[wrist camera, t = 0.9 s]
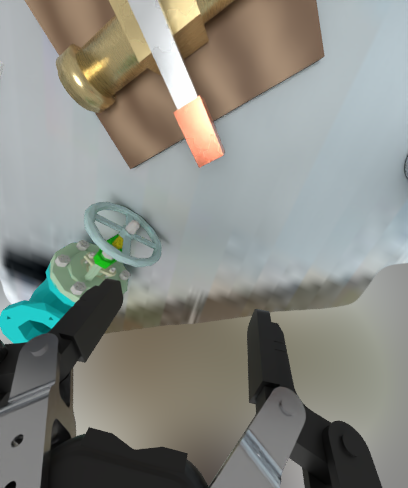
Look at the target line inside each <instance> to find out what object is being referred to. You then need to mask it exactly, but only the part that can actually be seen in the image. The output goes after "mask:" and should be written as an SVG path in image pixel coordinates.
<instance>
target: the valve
mask: <svg viewBox="0 0 408 488" xmlns="http://www.w3.org/2000/svg"><path fill="white" fill-rule="evenodd" d="M101 210H114V211H117V212H120V213H123V214H125V215H127V216H126V225H124V226H123V227H121V226H119V225H117V224H115V223H113V222H112V221H110V220H108V219H106V218H104V217H102V216H100V215H98V214H96V213H97V212H98V211H101ZM95 220H96V221H98V222H100V223H102V224H104V225H106V226H109V227H111V228H113V229H115V230H117V231H119V234H117V235H116V236H114V237H112V238H110V239H109V240H107V241H105V240H104V239H103V237H102V236H101V234H100V232H99V230H98V229H97V227H96V225H95V223H94V222H95ZM84 225H85V229H86V231H87V232H88V234H89V236H90V237H91V239H92V241H93V242H94V243H95V244H96V245H94V244H91V243H88V242H87V241H84V240H81V241H79V242H78V243H71V244H69V245H67V246H66V247H64V248H62V249H60V250H59V251H57V252H56V253H55V254H54V256H53V258H52V260H51V262H50V264H49V267H48V269H47V271H46V276H47V279H46V280H45V281H44V282H43V283H42V284H41V285H40V286H39V287H38V288H37V289H36V290H35V291H34V292H33V294H32V296H31V298H30V300H29V301H25V300H24V301H21V302H18V303H15V304H12V305H9V306H8V307H6V308H5V309H4V310H3V311H2V312H1V316H0V327H1V330H2V332H3V334H4V335H5V336H6V337H7V338H8V339H9V340H11V341H12V342H13V343H24V342H28V341H29V340H31V339H32V338H34V337H36V336H38V335H41V334H45V333H48V332H49V331H50V330H51V329H52V328H53V327H54V326H55V325H56V323H57V322H58V321H59V320H60V319H61V318H62V317H63V316H64V315H65V314H66V313H67V311H68V310H69V309H70V308H71V307H72V306H74V304H75V303H76V302H77V300H79V298H80V297H81V296H82V295H83V294H84V293H85V292H86V291H87V290H89V289H90V288H92V287H93V286H95V285H96V286H99V285H100V284H101V283H102V282H103V281H104V280H105V279H106V278H109V279H114V280H118V281H120V282H121V287H122V293H123V294H124V293H125V292H126V291H127V285H128V278H129V277H130V273H129V271H127V270H126V268H125V267H124V265H123V263H125V264H128V265H131V266H135V267H143V266H151V265H153V264H154V263H156V262H157V261H158V260H159V258H160V256H161V243H160V240H159V238H158V237H157V235H156V233H155V231H154V230H153V229H152V227H151V226H150V225H149V224H148V223H147V222H146V221H145V220H144V219H143V218H142V217H141V216H139V215H137V214H136V213H134V212H132V211H131V210H129V209H128V208H126V207H123V206H120V205H117V204H113V203H110V202H99V203H96V204H93V205H91V206H90V207H89V208H88V209H87V210H86V211H85V215H84ZM140 225H141V226H142V227H143V228H144V229H145V230H146V232H147V233H148V235H149V237H150V238H151V240H152V242H151V241H149V240H147V239H145V238H143V237H141V236H139V235H137V234H136V233H137V232H136V231H137V230H138V228H139V227H140ZM133 239H134V240H136V241H139V242H141V243H143V244H145V245H147V246H149V247H151V248H153V249H154V251H153V254H152V256H151V257H150V258H146V259H141V258H135V257H132V256H130V246H131V240H133Z"/></svg>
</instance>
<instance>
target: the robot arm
mask: <svg viewBox="0 0 408 488" xmlns="http://www.w3.org/2000/svg"><path fill="white" fill-rule="evenodd" d="M405 173H406V176H407V178H408V157H407V160H406V164H405ZM122 303H123V293H122V287H121V282H120V281H118V280H114V279H109V278H106V279H105V280H104V281H103V282H102V283H101V284H100V285H99V286H96V285H95V286H93V287H92V288H90V289H89V290H87V291H86V292H85V293H84V294H83V295H82V296H81V297H80V298H79V300H77V302H76V303H75V304H74V306H72V307H71V308H70V309H69V310H68V311H67V313H66V314H65V315H64V316H63V317H62V318H61V319H60V320H59V321H58V322H57V323H56V325H55V326H54V327H53V328H52V329H51V330H50V331H49V332H48V333H45V334H41V335H38V336H36V337H34V338H32V339H31V340H29V341H28V342H24V343H14V344H5V345H4V344H3V343H2V341H1V340H0V488H279V487H280V484H281V474H282V472H283V469H284V467H285V465H286V463H287V461H288V458H290V459H292V460H293V461H294V462H296V463H297V464H299V465H300V466H301V467H302V470H303V477H304V485H305V488H382V486H381V483H380V480H379V477H378V474H377V471H376V469H375V465H374V463H373V460H372V457H371V454H370V451H369V449H368V447H367V445H366V443H365V441H364V440H363V438H362V437H361V435H360V434H359V433H358V432H357V431H356V430H355V429H354V428H353V427H351V426H350V425H349V424H347V423H345V422H342V421H334V422H332V423H331V422H329V421H327V420H326V419H324V418H322V417H321V416H319V415H317V414H316V413H314V412H313V411H311V410H310V409H308V408H307V407H306V406H305V405H304V404H303V403H302V401H301V400H300V399H299V397H298V395H297V393H296V391H295V389H294V385H293V380H292V375H291V370H290V365H289V359H288V355H287V349H286V345H285V340H284V334H283V332H282V330H281V328H280V327H279V325H278V324H277V323H273V322H271V318H270V313H269V312H268V311H264V310H259V309H255V310H254V312H253V315H252V318H251V320H250V323H249V326H248V331H247V345H248V380H249V403H253V404H256V415H255V417H254V418H253V420H252V421H251V423H250V424H249V426H248V428H247V429H246V431H245V432H244V434H243V435H242V437H241V438H240V440H239V441H238V443H237V444H236V446H235V448H234V449H233V451H232V452H231V453H230V455H229V457H228V458H227V459H226V461H225V462H224V464H223V466H222V467H221V468H220V470H219V472H218V473H217V475H216V476H215V478H214V479H213V481H212V482H211V484H210V486H209V487H208V485H207V483H206V481H205V479H204V477H203V476H202V474H201V473H200V472H199V471H198V469H197V468H196V467H195V466H194V465H193V464H192V463H191V462H190V461H188V460H187V453H184V452H180V451H176V450H173V449H169V448H165V447H158V448H148V449H139V450H134V449H132V448H131V447H129V446H128V445H127V444H125V443H124V442H123V441H121V440H120V439H119V438H118V437H116V436H115V435H113V434H112V433H108V432H104V431H101V430H97V429H93V428H88V431H87V432H86V434H83V435H79V436H76V422H75V417H74V412H73V367H74V365H75V364H76V362H77V361H81V362H86V361H87V359H88V358H89V356H90V354H91V353H92V351H93V350H94V348H95V347H96V345H97V344H98V342H99V341H100V339H101V337H102V336H103V334H104V333H105V331H106V330H107V328H108V327H109V325H110V324H111V322H112V320H113V319H114V317H115V316H116V314H117V313H118V311H119V310H120V308H121V306H122Z"/></svg>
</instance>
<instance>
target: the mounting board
mask: <svg viewBox="0 0 408 488" xmlns="http://www.w3.org/2000/svg"><path fill="white" fill-rule="evenodd" d="M25 2H26V3H27V5H28V7H29V8H30V10H31V11H32V13H33V15H34V16H35V18H36V19H37V21H38V23H39V24H40V26H41V27H42V29H43V30H44V32H45V34H46V35H47V37H48V38H49V40H50V42H51V43H52V45H53V46H54V48H55V50H56V51H57V53H58V54H59V56H60V55H61V54H62V53H63V52H64V51H65V50H66V49H67V48H68V47H69V46H70V45H71V44H75V45H77V46H79V47H82V46H83V45H84V44H85V43H86V42H88V41H89V40H90V39H91V38H92V37H93V36H94V35H95V34H96V33H97V32H98V31H99V30H100V29H101V28H102V27H103V26H104V25H105V24H106V23H107V22H108V21H109V20H110V19H111V18H112V17H113V16H115V15H116V14H115V12H114V10H113V8H112V6H111V4H110V2H109V0H25ZM204 27H205V30H206V33H207V36H208V39H209V41H208V42H207V43H206V44H204V45H203V46H202V47H200V48H199V49H198V50H196V51H195V52H193V53H192V54H191V55H189V56H188V57H187V58H185V59H184V62H185V64H186V67H187V69H188V72H189V74H190V77H191V79H192V82H193V84H194V86H195V89H196V91H197V94H198V96H201V97H202V98H203V99H204V100H205V103H206V105H207V108H208V110H209V113H210V115H211V118H212V120H213V121H215V120H217V119H218V118H220V117H222V116H224V115H225V114H227V113H229V112H230V111H232V110H234V109H236V108H237V107H239V106H241V105H243V104H244V103H246V102H248V101H249V100H251V99H253V98H255V97H256V96H258V95H260V94H261V93H263V92H265V91H267V90H268V89H270V88H272V87H274V86H275V85H277V84H279V83H280V82H282V81H284V80H286V79H287V78H289V77H291V76H293V75H294V74H296V73H298V72H299V71H301V70H303V69H305V68H306V67H308V66H310V65H311V64H313V63H315V62H317V61H318V60H320V59H321V58H323V57H324V50H323V43H322V36H321V30H320V23H319V16H318V9H317V3H316V0H234V1H233V2H232V3H231V4H229V5H228V6H227V7H225V8H224V9H223V10H222V11H220V12H219V13H218V14H217V15H215V16H214V17H213V18H211V19H210V20H209V21H208V22H206V23H205V24H204ZM114 95H115V102H114V103H113V104H112V105H111V106H109V107H108V108H107V109H105V110H104V111H103V112H101V113H96V112H95V113H96V115H97V117H98V118H99V120H100V121H101V123H102V124H103V126H104V128H105V129H106V131H107V132H108V134H109V136H110V137H111V139H112V140H113V142H114V144H115V145H116V147H117V148H118V150H119V152H120V153H121V155H122V156H123V158H124V160H125V161H126V163H127V164H128V166H129V167H130V169H132V168H134V167H136V166H137V165H139V164H141V163H143V162H144V161H146V160H148V159H149V158H151V157H153V156H155V155H156V154H158V153H160V152H161V151H163V150H165V149H167V148H168V147H170V146H172V145H174V144H175V143H177V142H179V141H180V140H182V139H184V138H185V137H184V134H183V132H182V130H181V128H180V126H179V124H178V122H177V120H176V117H175V115H174V113H173V112H175V111H176V110H178V109H177V107H176V105H175V103H174V101H173V98H172V96H171V94H170V92H169V90H168V87H167V85H166V83H165V81H164V79H163V77H162V76H160V75H158V74H157V73H155V72H153V71H152V70H150V69H149V68H147V69H146V70H145V71H143V72H142V73H141V74H139V75H138V76H137V77H136V78H134V79H133V80H132V81H131V82H129V83H128V84H127V85H125V86H124V87H123V88H122V89H120V90H119V91H118V92H116V93H115V94H114Z"/></svg>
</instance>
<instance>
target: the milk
mask: <svg viewBox="0 0 408 488" xmlns="http://www.w3.org/2000/svg"><path fill="white" fill-rule="evenodd" d="M3 66H4V64H3V63H2V62H1V61H0V78H1V74H2V70H3Z"/></svg>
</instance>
